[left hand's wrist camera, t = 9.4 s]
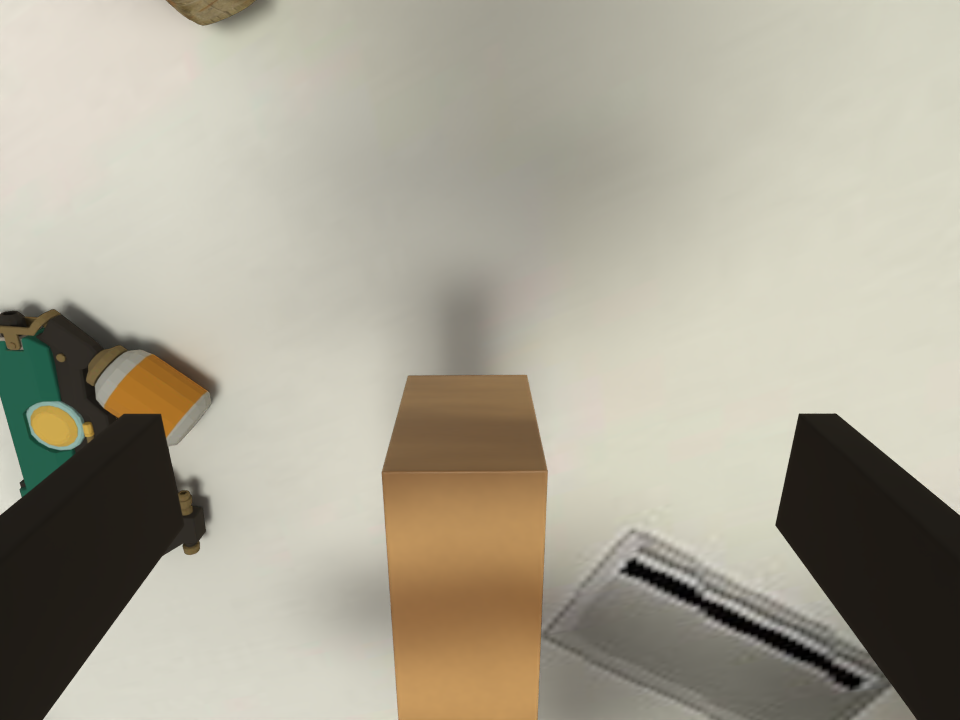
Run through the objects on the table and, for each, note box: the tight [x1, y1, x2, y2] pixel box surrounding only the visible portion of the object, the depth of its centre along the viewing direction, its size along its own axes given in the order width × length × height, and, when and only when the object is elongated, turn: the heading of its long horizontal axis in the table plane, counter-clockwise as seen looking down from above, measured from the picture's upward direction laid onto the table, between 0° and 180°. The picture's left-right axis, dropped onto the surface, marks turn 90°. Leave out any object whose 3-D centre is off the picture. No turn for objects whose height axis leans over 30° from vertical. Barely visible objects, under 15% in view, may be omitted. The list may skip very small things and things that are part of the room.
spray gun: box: [0, 309, 211, 555], centre depth 39 cm, size 4×17×15 cm
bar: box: [382, 375, 548, 720], centre depth 27 cm, size 26×5×8 cm, turn 0°
